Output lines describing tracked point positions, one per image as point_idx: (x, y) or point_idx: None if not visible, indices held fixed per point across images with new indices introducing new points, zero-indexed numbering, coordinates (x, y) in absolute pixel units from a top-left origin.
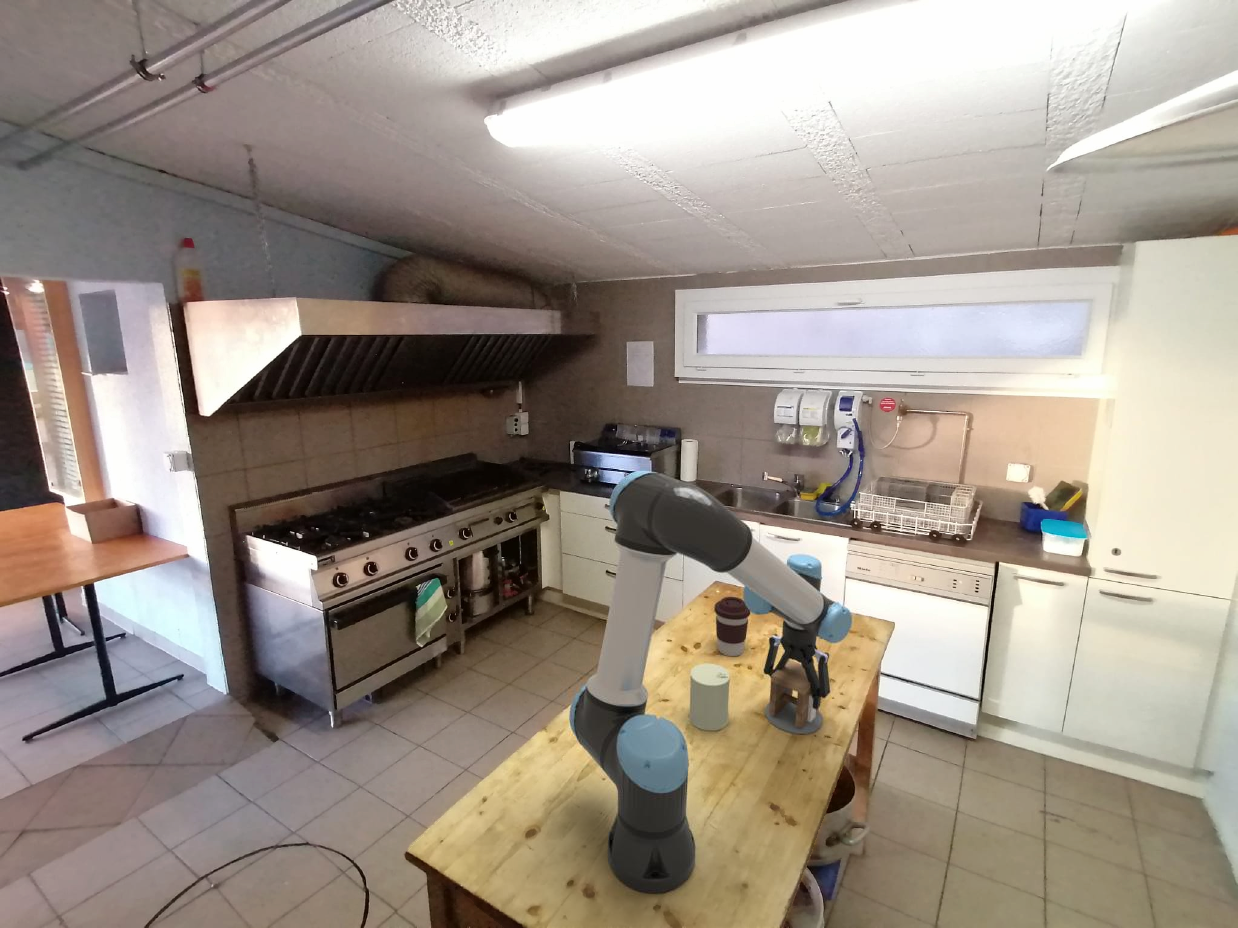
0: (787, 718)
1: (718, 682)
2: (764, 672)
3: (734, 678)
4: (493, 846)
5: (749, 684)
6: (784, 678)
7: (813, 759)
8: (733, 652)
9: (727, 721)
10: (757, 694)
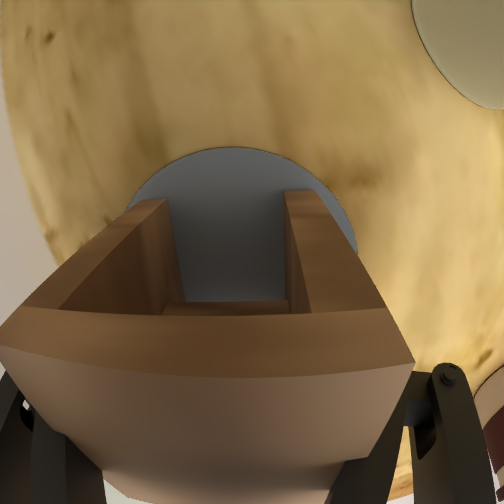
0: (233, 229)
1: None
2: (454, 366)
3: (488, 307)
4: None
5: (447, 317)
6: (224, 408)
7: (48, 102)
8: (498, 381)
9: (424, 34)
10: (412, 292)
